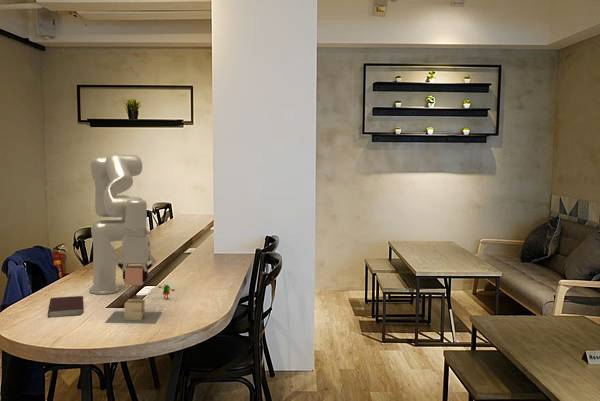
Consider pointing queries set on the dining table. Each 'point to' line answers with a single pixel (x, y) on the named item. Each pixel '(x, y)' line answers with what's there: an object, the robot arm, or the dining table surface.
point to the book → (66, 306)
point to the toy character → (166, 290)
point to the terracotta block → (134, 275)
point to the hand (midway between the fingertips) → (135, 280)
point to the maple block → (134, 309)
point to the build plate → (147, 319)
